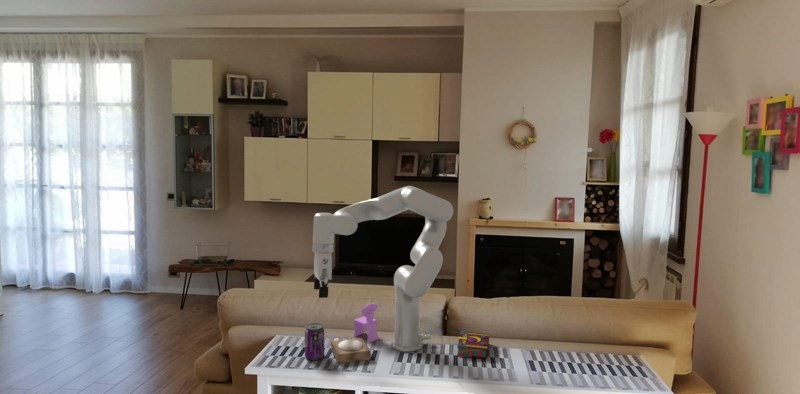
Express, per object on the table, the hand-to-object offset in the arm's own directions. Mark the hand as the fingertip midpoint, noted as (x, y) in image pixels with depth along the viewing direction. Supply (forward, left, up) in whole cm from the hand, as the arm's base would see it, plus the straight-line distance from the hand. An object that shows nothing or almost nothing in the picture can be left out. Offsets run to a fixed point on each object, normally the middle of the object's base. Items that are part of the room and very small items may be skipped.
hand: (320, 293), depth 196 cm
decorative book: (-57, +12, -25) cm, 63 cm away
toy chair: (-21, -12, -24) cm, 34 cm away
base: (-11, +2, -24) cm, 27 cm away
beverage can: (+2, 0, -24) cm, 25 cm away
